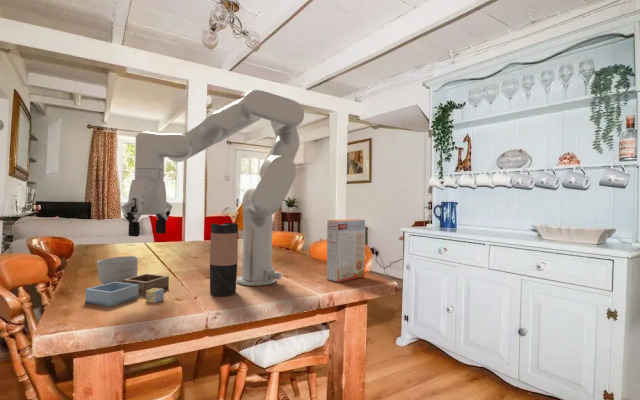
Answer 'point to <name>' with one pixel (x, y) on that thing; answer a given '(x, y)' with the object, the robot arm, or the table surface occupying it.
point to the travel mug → (223, 259)
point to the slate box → (111, 293)
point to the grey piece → (117, 269)
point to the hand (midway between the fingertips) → (147, 234)
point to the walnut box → (148, 282)
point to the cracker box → (345, 249)
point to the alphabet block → (154, 295)
